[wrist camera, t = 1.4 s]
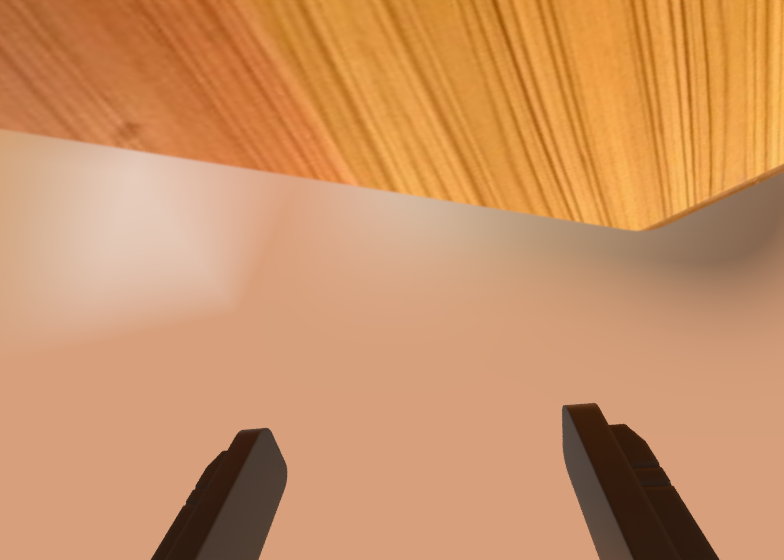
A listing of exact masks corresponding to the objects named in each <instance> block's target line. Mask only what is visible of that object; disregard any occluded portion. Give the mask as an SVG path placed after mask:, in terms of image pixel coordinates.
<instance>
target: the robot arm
mask: <svg viewBox="0 0 784 560" xmlns="http://www.w3.org/2000/svg"><path fill="white" fill-rule="evenodd" d="M562 422H563V423H562V428H563V453H564V459H565V464H566V467H567V471H568V474H569V477H570V480H571V482H572V485H573V488H574V490H575V493H576V496H577V498H578V501H579V504H580V507H581V510H582V512H583V515H584V518H585V520H586V523H587V526H588V529H589V532H590V534H591V537H592V540H593V542H594V545H595V548H596V551H597V553H598V556H599V559H600V560H719V558H718V557H717V555H716V554H715V552H714V550H713V549H712V547H711V546H710V544H709V542H708V541H707V539H706V537H705V536H704V534H703V533H702V531H701V529H700V528H699V526H698V525H697V523H696V522H695V520H694V518H693V517H692V515H691V513H690V512H689V510H688V509H687V507H686V505H685V504H684V502H683V501H682V499H681V498H680V496H679V494H678V493H677V491H676V489H675V488H674V486H672V485H671V483H670V480H669V478H668V477H667V475H666V473H665V472H664V470H663V469H662V467H660V466H659V462H658V461H657V459H656V457H655V456H654V454H653V452H652V451H651V450H650V448H649V446H648V444H647V443H646V441H645V440H643V439H642V438H641V437H640V436H639V435H637V434H636V433H635V432H634V431H633V430H631V429H630V428H629V427H628V426H627V425H625V424H618V425H608V423H607V421H606V419H605V418H604V416H603V414H602V412H601V410H600V408H599V407H598V405H597V404H596V403H588V404H576V405H564V406H563V409H562ZM286 481H287V466H286V463H285V461H284V458H283V456H282V454H281V452H280V450H279V448H278V446H277V443H276V441H275V439H274V436H273V434H272V432H271V431H270V430H269V429H268V428H261V429H250V430H241V431H240V432H238V434H237V435H236V437H235V438H234V440H233V442H232V444H231V445H230V447H229V449H228V450H227V451H222V452H221V453H220V454H219V455H218V456H217V458H216V459H214V460H213V461H212V463H211V464H210V465H208V466H207V468H206V469H205V471H204V473H203V474H202V476H201V478H200V479H199V481H198V483H197V484H196V488H195V490H193V491H192V493H191V494H190V496H189V497H188V499H187V501H186V505H185V506H183V507H182V509H181V511H180V512H179V514H178V516H177V517H176V519H175V521H174V522H173V524H172V526H171V527H170V529H169V531H168V532H167V534H166V535H165V537H164V539H163V540H162V542H161V544H160V545H159V547H158V549H157V550H156V552H155V554H154V555H153V557H152V559H151V560H258V559H259V556H260V554H261V551H262V548H263V545H264V543H265V540H266V537H267V535H268V532H269V529H270V527H271V524H272V522H273V519H274V516H275V513H276V511H277V508H278V505H279V503H280V500H281V497H282V494H283V492H284V489H285V486H286Z"/></svg>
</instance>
